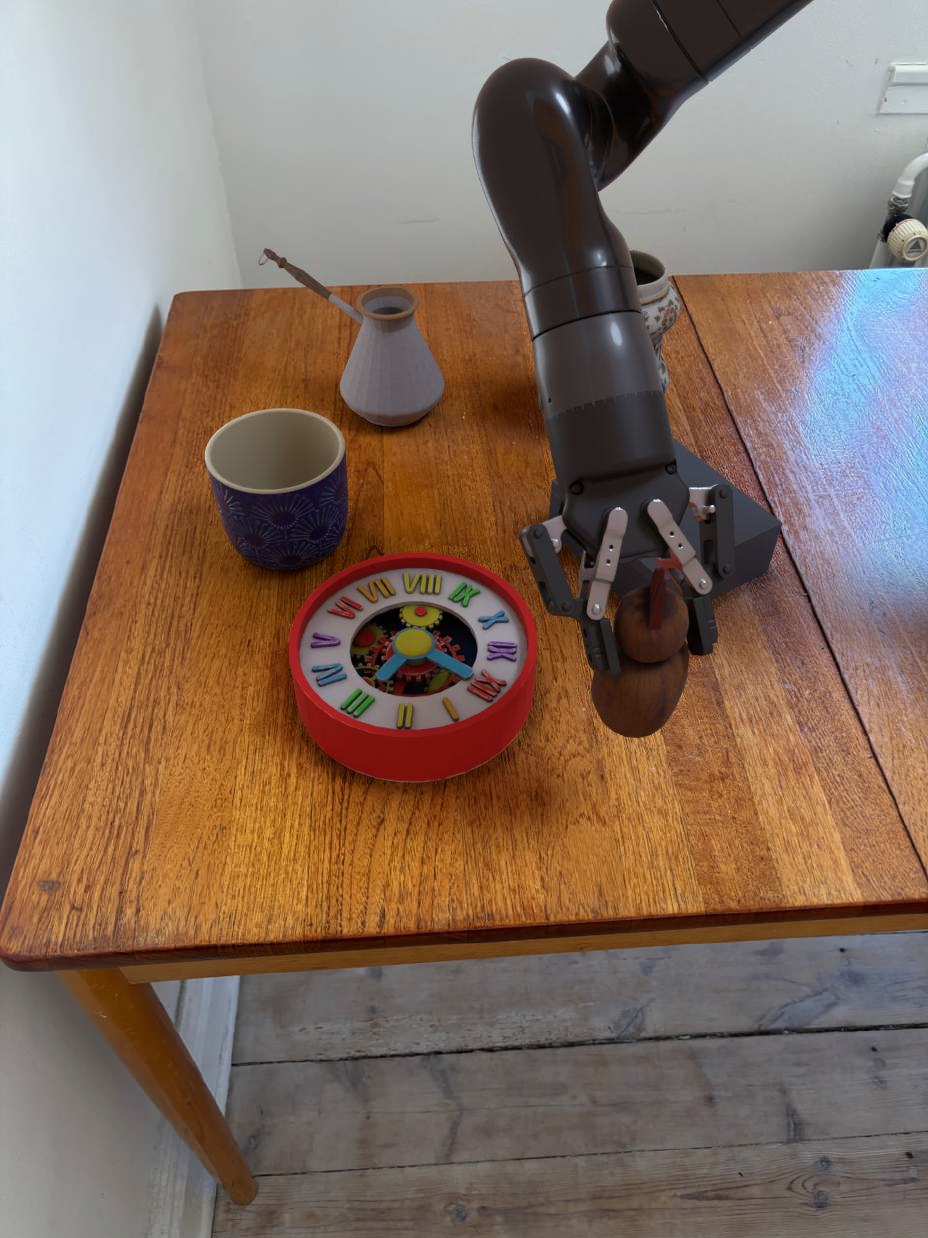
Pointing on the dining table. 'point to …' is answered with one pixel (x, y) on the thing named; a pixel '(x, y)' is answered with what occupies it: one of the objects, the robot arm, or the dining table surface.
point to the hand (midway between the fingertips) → (657, 664)
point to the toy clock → (413, 666)
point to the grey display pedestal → (751, 532)
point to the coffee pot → (383, 354)
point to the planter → (280, 486)
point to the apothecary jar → (656, 302)
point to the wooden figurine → (645, 661)
